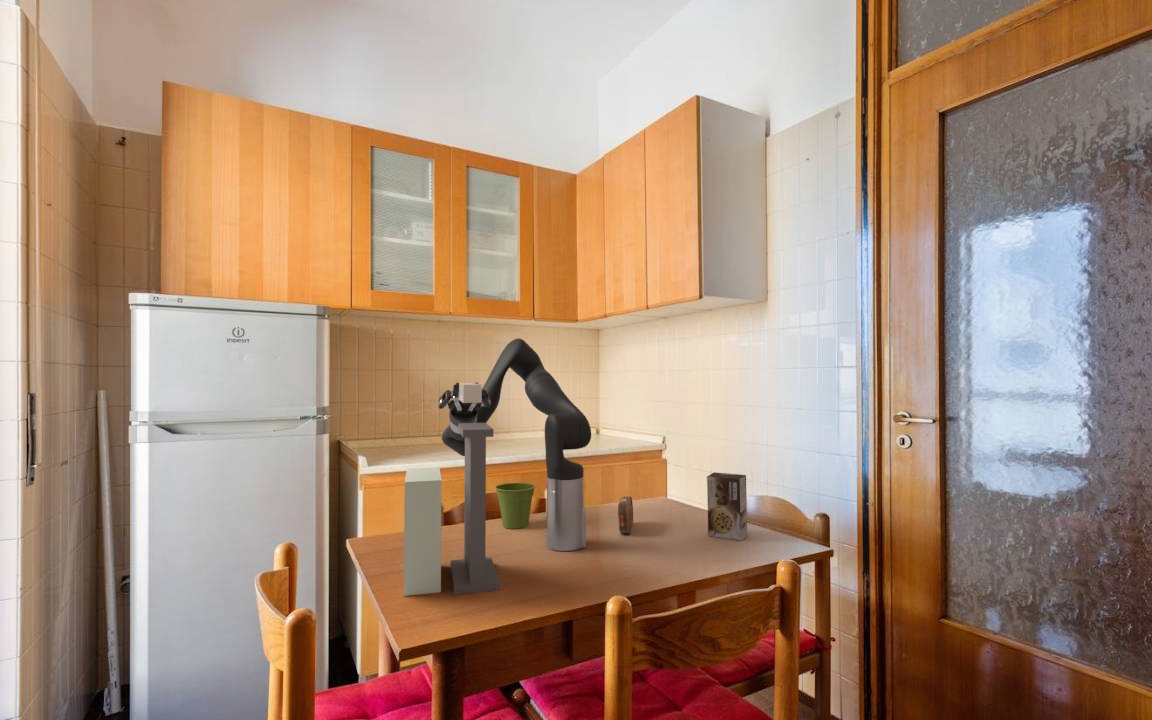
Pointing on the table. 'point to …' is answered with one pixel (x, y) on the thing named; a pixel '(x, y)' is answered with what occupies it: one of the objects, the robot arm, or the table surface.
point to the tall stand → (474, 517)
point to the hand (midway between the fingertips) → (467, 385)
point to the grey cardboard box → (727, 506)
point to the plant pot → (515, 503)
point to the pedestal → (422, 531)
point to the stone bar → (470, 393)
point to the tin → (625, 514)
